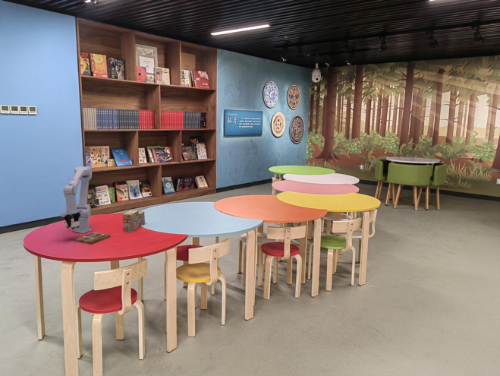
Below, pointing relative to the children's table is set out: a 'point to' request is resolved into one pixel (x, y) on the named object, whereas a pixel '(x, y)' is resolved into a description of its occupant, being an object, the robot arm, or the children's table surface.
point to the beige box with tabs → (73, 224)
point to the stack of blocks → (133, 220)
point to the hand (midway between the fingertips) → (72, 225)
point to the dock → (92, 238)
